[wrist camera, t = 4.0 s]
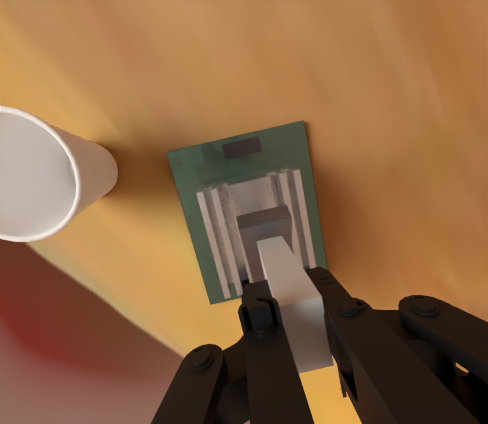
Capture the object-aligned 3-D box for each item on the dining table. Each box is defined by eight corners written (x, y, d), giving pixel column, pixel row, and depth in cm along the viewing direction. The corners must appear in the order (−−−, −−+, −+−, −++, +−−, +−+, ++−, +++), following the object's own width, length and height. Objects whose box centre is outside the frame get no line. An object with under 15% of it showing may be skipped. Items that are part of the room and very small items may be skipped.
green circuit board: (167, 152, 29) (134, 150, 19) (301, 121, 29) (339, 103, 19) (210, 301, 33) (202, 363, 23) (326, 274, 33) (367, 324, 23)
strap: (232, 215, 14) (235, 232, 13) (289, 202, 14) (296, 218, 13) (258, 304, 25) (260, 316, 24) (290, 297, 25) (294, 309, 24)
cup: (148, 198, 30) (102, 221, 19) (70, 221, 30) (-20, 258, 19) (116, 113, 27) (43, 86, 17) (31, 139, 28) (-96, 128, 17)
